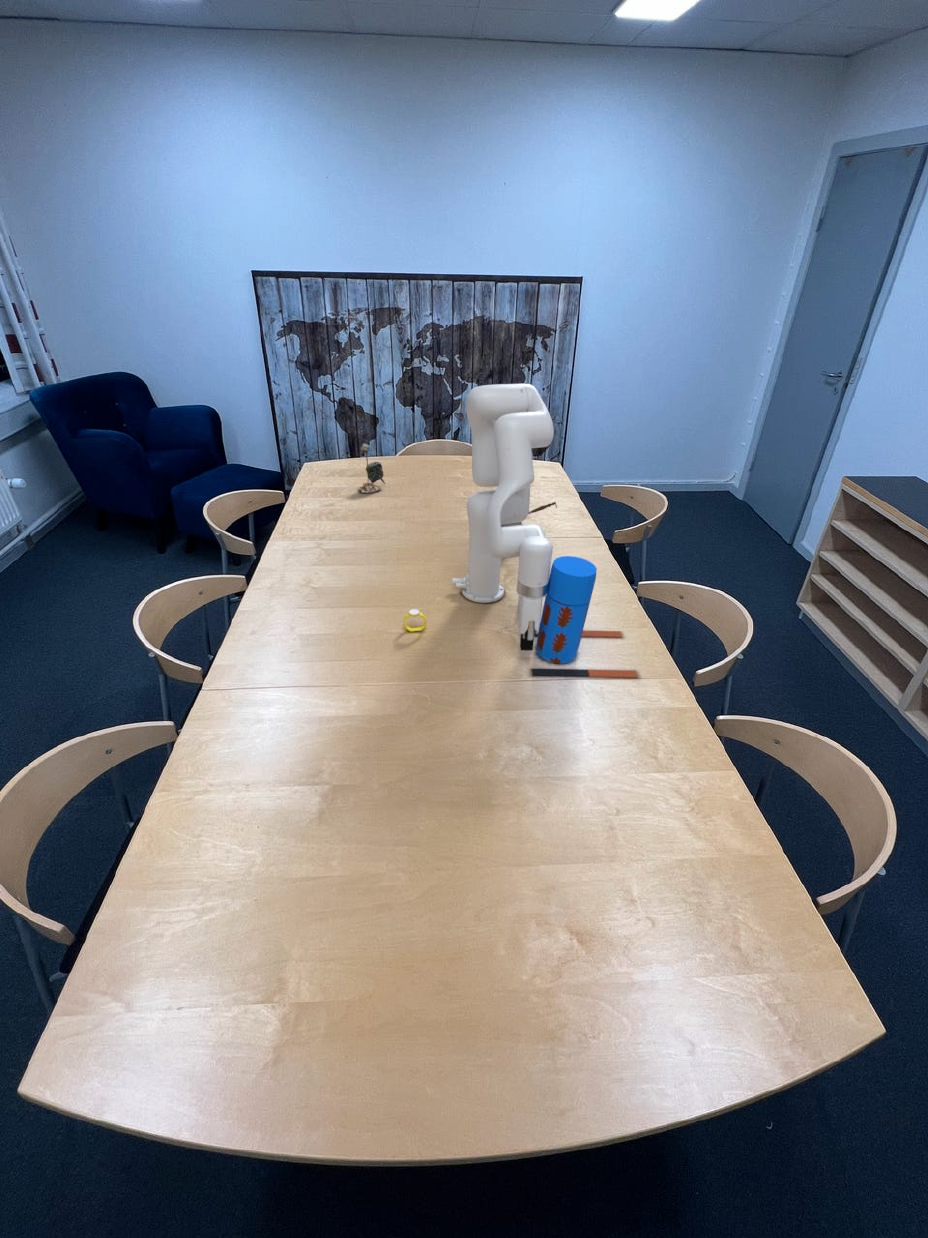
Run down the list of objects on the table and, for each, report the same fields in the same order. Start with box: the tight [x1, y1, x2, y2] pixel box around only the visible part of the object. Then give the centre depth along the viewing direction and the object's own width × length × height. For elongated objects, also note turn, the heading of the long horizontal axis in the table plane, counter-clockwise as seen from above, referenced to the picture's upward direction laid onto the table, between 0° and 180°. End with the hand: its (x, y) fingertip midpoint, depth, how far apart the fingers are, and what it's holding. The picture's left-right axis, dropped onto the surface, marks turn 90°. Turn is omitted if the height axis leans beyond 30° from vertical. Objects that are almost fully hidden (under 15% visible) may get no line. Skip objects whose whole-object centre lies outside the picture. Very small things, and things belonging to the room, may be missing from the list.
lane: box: [531, 630, 639, 679], centre depth 159 cm, size 26×20×1 cm
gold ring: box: [403, 608, 427, 632], centre depth 164 cm, size 6×3×6 cm, turn 96°
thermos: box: [535, 555, 598, 665], centre depth 152 cm, size 11×11×25 cm
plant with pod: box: [358, 443, 386, 494], centre depth 246 cm, size 8×11×20 cm
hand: (526, 648), depth 158 cm, fingers closed
